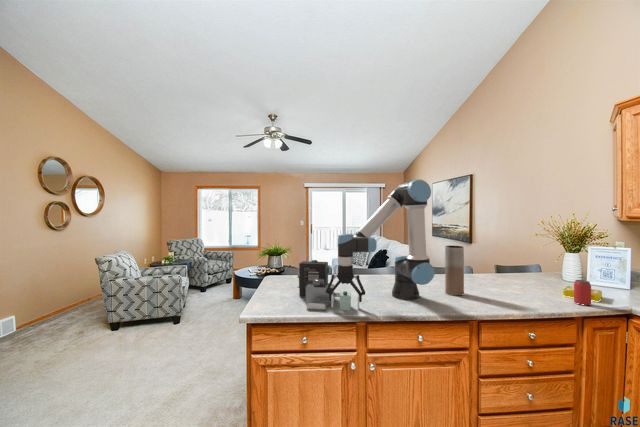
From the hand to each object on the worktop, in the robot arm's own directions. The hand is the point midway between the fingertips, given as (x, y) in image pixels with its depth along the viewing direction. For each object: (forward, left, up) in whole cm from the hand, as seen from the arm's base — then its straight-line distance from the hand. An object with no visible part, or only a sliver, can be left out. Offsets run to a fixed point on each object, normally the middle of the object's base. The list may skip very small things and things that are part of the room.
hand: (345, 307), depth 144 cm
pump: (0, 0, 0) cm, 0 cm away
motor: (+12, -3, 0) cm, 12 cm away
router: (+20, -20, 0) cm, 28 cm away
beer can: (-121, -27, 0) cm, 123 cm away
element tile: (-130, -41, -1) cm, 136 cm away
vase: (-61, -37, 0) cm, 71 cm away
